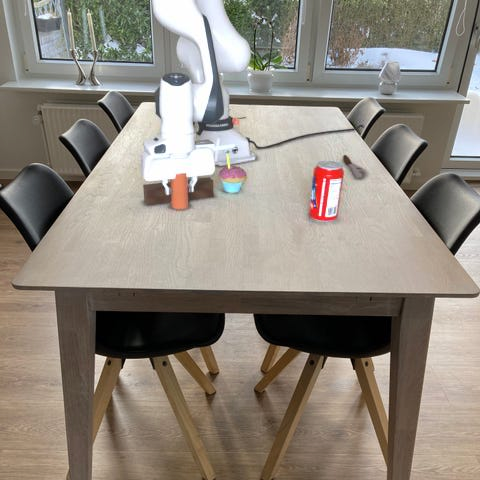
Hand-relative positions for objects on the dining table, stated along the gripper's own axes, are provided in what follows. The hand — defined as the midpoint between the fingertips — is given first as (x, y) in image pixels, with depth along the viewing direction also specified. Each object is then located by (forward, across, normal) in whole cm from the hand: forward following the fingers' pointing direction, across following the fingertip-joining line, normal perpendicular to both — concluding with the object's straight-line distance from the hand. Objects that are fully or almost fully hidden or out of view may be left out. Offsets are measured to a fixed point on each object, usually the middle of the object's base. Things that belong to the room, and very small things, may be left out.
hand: (179, 192), depth 145 cm
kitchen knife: (+4, -67, -12) cm, 69 cm away
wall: (+4, -2, -5) cm, 7 cm away
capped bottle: (+4, 0, 0) cm, 4 cm away
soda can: (+4, -34, +21) cm, 40 cm away
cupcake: (+4, -19, -7) cm, 21 cm away
